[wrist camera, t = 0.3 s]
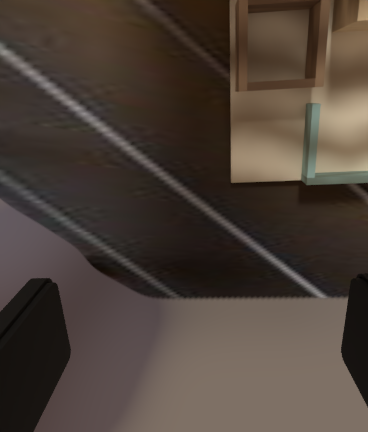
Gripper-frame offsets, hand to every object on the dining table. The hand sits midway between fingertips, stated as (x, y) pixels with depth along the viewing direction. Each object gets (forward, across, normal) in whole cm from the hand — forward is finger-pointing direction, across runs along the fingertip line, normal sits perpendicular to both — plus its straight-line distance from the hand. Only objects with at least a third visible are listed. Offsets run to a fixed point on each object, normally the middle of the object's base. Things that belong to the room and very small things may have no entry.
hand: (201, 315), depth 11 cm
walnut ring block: (+30, -8, -10) cm, 32 cm away
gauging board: (+30, -12, -9) cm, 34 cm away
